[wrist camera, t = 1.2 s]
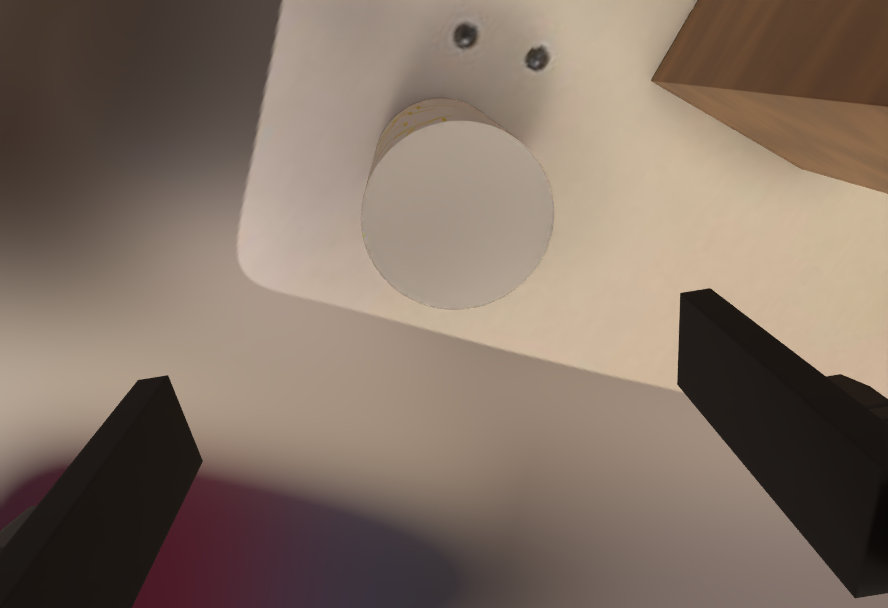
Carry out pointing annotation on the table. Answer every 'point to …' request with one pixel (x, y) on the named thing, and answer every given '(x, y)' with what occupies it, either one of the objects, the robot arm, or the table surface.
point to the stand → (792, 79)
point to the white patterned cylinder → (454, 207)
